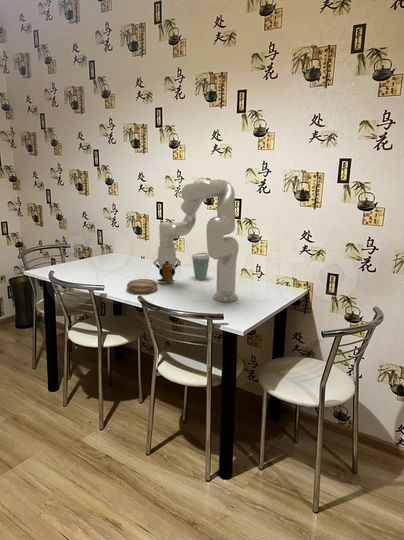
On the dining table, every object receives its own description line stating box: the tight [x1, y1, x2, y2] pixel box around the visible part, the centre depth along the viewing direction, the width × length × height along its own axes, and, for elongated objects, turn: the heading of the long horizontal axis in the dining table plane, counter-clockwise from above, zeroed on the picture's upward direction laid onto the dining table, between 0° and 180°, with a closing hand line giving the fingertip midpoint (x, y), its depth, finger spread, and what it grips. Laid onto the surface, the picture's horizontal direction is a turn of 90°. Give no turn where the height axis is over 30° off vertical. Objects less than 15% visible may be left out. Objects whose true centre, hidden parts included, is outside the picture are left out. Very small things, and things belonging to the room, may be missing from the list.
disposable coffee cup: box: [191, 252, 211, 281], centre depth 252 cm, size 11×11×15 cm
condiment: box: [156, 261, 176, 284], centre depth 242 cm, size 7×8×12 cm
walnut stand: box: [126, 278, 158, 295], centre depth 230 cm, size 16×16×4 cm
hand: (167, 275), depth 243 cm, fingers closed on condiment, 6 cm apart
